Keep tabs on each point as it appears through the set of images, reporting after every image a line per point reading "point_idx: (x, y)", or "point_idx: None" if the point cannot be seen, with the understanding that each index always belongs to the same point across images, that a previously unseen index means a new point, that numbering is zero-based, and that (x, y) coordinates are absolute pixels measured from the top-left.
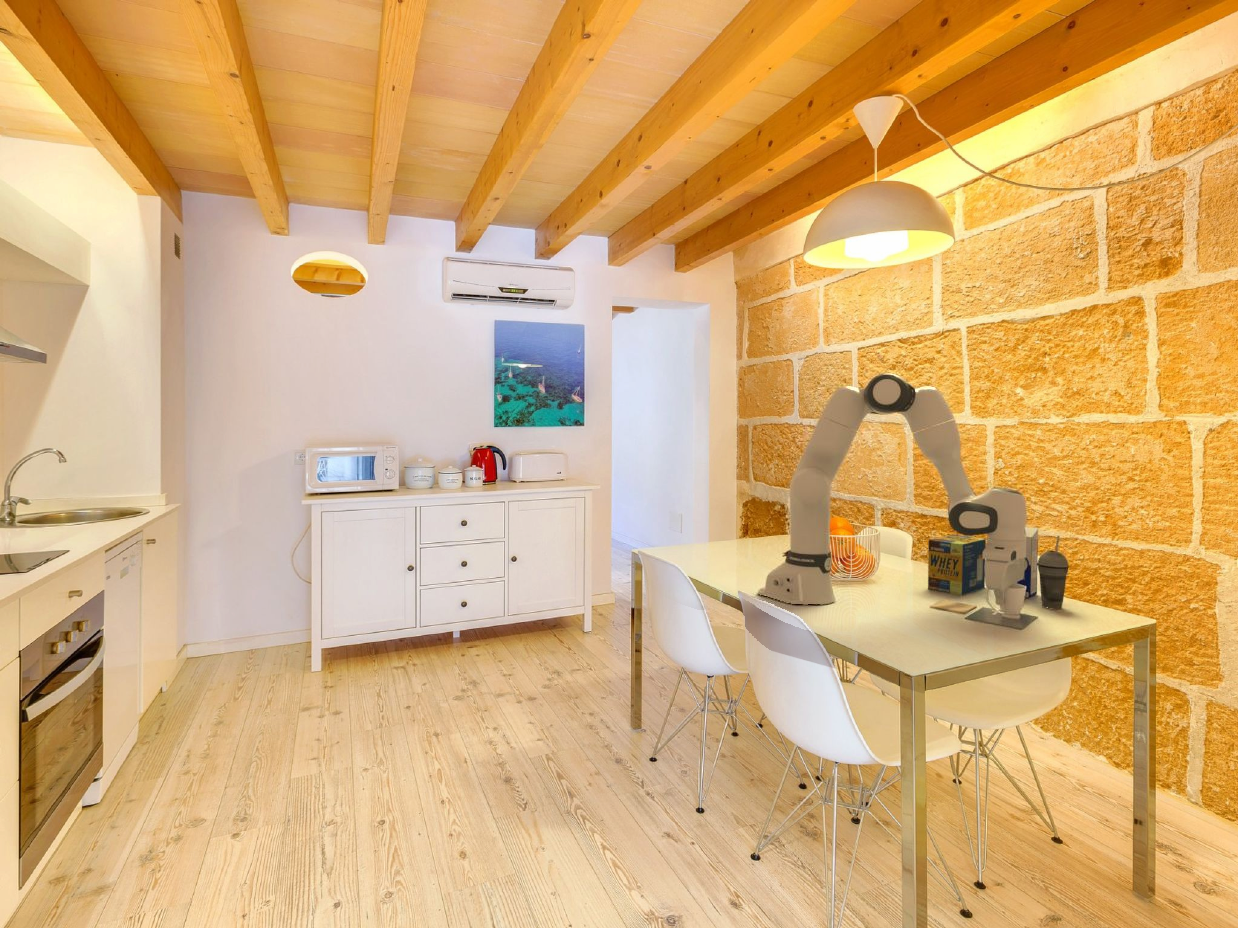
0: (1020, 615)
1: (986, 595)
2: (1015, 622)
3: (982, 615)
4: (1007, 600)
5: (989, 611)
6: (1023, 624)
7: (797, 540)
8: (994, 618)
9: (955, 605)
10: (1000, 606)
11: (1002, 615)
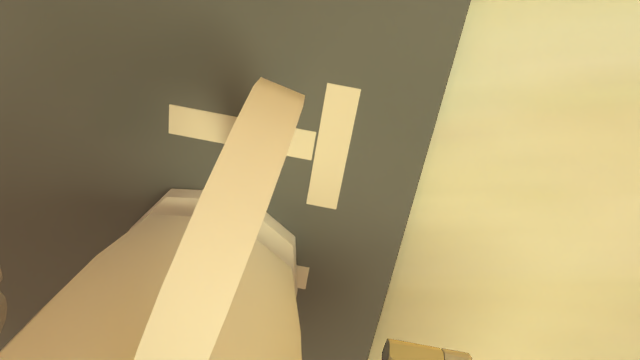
0: (300, 322)
1: (241, 115)
2: (19, 292)
3: (17, 13)
4: None
5: (275, 64)
6: (10, 338)
7: None
8: (2, 137)
9: None
10: (112, 243)
11: (159, 200)
